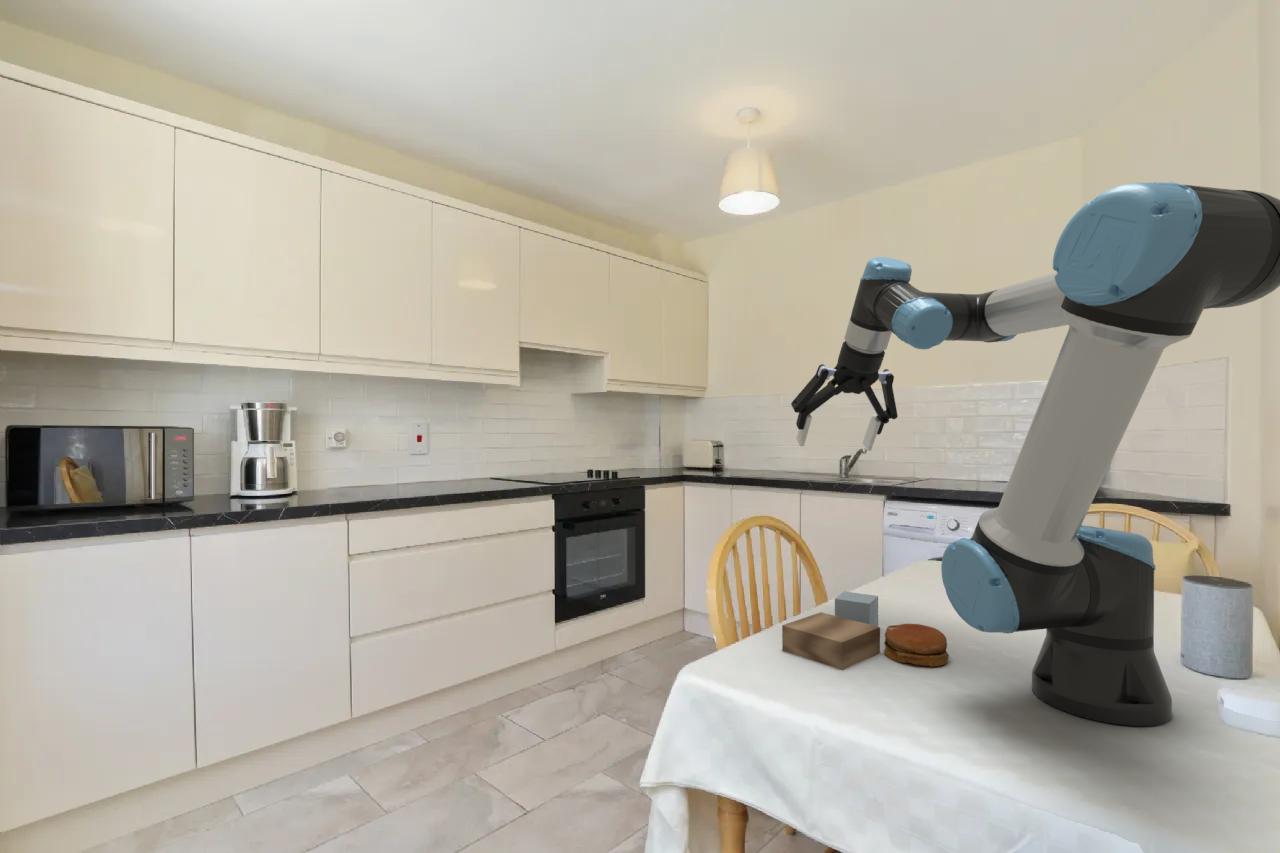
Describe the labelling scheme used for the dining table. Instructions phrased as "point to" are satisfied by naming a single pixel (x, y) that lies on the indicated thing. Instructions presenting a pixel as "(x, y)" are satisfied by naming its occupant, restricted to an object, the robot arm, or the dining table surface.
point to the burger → (916, 645)
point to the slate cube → (857, 607)
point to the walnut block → (831, 640)
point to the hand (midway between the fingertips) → (833, 444)
